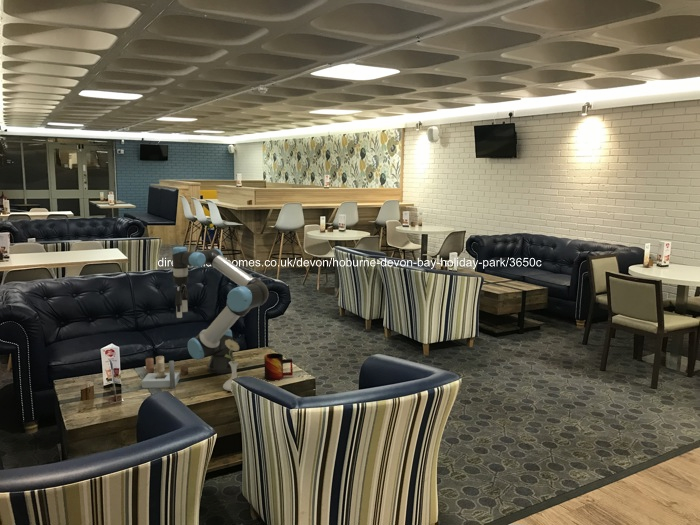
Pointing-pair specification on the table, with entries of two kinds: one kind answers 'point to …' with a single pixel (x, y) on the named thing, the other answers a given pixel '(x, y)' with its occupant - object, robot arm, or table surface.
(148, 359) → the medium pin
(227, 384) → the flower in vase
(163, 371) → the long pin
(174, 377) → the hole plate
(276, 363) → the mug
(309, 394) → the table surface
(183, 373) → the short pin
